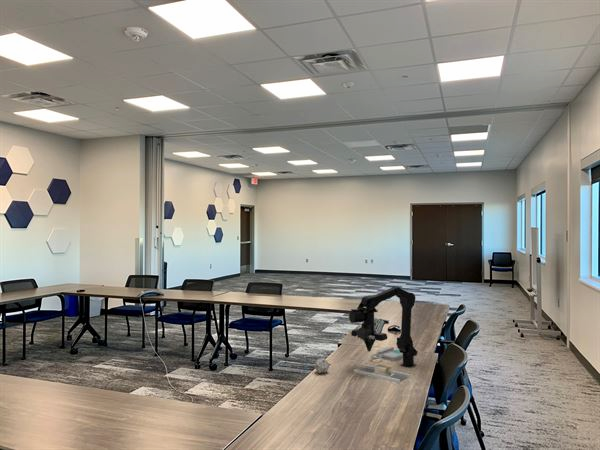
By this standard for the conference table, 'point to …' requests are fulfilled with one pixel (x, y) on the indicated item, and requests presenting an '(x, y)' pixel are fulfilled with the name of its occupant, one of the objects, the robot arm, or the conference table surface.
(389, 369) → the birch block
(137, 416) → the conference table surface
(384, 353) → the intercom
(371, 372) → the trap lane
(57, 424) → the conference table surface
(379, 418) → the conference table surface
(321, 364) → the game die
